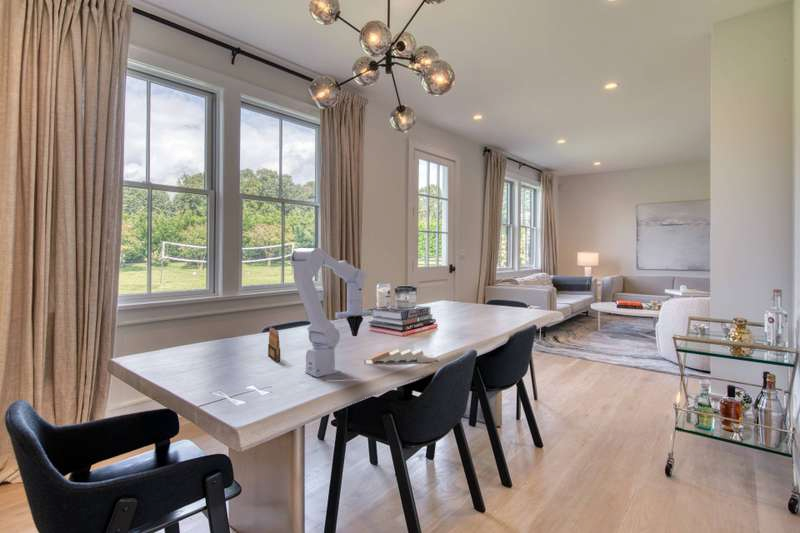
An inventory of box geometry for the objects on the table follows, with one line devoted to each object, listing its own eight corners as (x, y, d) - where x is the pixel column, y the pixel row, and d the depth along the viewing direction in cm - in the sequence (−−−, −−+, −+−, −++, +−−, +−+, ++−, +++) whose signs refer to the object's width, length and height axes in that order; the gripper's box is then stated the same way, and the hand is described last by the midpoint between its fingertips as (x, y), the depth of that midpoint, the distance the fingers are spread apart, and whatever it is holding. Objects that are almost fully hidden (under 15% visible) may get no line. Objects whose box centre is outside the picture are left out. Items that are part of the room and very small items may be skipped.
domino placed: (371, 359, 152) (388, 351, 153) (370, 356, 156) (387, 349, 157) (372, 363, 152) (389, 355, 153) (371, 360, 156) (388, 353, 157)
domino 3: (405, 358, 154) (422, 350, 155) (403, 355, 158) (420, 348, 159) (407, 362, 154) (423, 354, 155) (405, 359, 158) (421, 352, 159)
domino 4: (417, 357, 154) (435, 358, 155) (415, 354, 158) (433, 355, 159) (417, 361, 154) (435, 362, 155) (415, 358, 158) (432, 359, 159)
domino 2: (393, 358, 153) (410, 351, 154) (392, 355, 157) (409, 348, 158) (395, 362, 153) (412, 355, 154) (393, 359, 157) (410, 352, 158)
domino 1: (382, 358, 153) (399, 351, 153) (381, 356, 156) (398, 349, 157) (383, 362, 153) (401, 355, 154) (382, 360, 157) (399, 352, 157)
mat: (364, 365, 150) (364, 364, 150) (363, 360, 157) (363, 359, 157) (420, 363, 153) (420, 362, 153) (417, 358, 160) (417, 357, 160)
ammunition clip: (268, 356, 163) (267, 326, 163) (272, 355, 164) (272, 326, 164) (275, 362, 154) (275, 331, 154) (280, 361, 155) (280, 330, 155)
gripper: (339, 302, 148) (339, 339, 149) (376, 300, 155) (376, 335, 155) (333, 300, 155) (333, 335, 155) (369, 298, 161) (369, 332, 162)
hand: (354, 335), depth 156 cm, fingers closed
